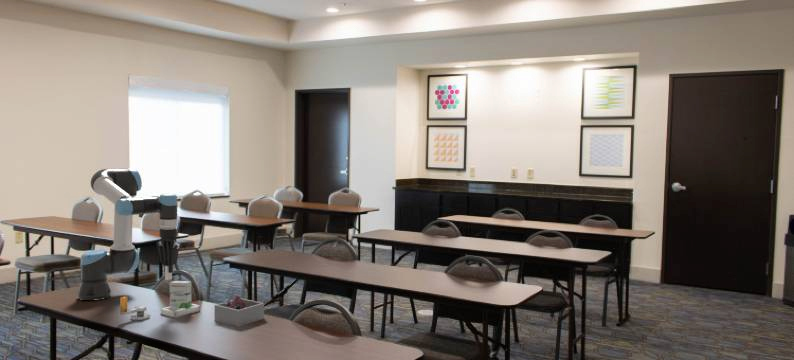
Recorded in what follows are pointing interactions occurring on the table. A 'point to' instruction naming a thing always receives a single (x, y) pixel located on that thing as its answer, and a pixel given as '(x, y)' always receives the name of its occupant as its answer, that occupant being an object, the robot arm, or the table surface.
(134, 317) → the crank base
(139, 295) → the table surface
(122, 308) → the crank
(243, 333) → the table surface
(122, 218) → the robot arm
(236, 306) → the brake caliper
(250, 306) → the parts crate
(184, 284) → the ink box
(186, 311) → the tray
